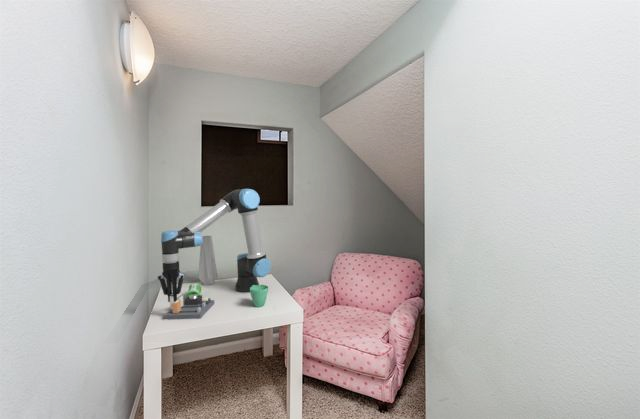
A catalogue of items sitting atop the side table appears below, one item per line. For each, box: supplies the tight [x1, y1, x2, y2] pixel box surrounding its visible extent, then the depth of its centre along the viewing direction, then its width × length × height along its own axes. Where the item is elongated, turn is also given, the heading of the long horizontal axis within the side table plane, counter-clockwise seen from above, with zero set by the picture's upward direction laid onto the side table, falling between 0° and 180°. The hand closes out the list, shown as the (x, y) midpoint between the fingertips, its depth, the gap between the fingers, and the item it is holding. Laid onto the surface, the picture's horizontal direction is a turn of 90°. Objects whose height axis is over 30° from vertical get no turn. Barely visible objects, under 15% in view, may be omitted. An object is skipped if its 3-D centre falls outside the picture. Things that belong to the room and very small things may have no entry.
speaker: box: [185, 283, 202, 299], centre depth 182 cm, size 18×7×8 cm, turn 18°
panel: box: [163, 294, 215, 320], centre depth 162 cm, size 18×21×5 cm
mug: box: [249, 284, 269, 308], centre depth 170 cm, size 15×10×10 cm
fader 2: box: [177, 295, 184, 307], centre depth 162 cm, size 2×4×5 cm, turn 1°
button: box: [189, 294, 198, 299], centre depth 169 cm, size 4×4×4 cm
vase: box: [198, 235, 218, 286], centre depth 213 cm, size 12×12×33 cm
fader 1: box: [172, 300, 181, 313], centre depth 155 cm, size 2×4×5 cm, turn 1°
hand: (172, 307), depth 155 cm, fingers closed
